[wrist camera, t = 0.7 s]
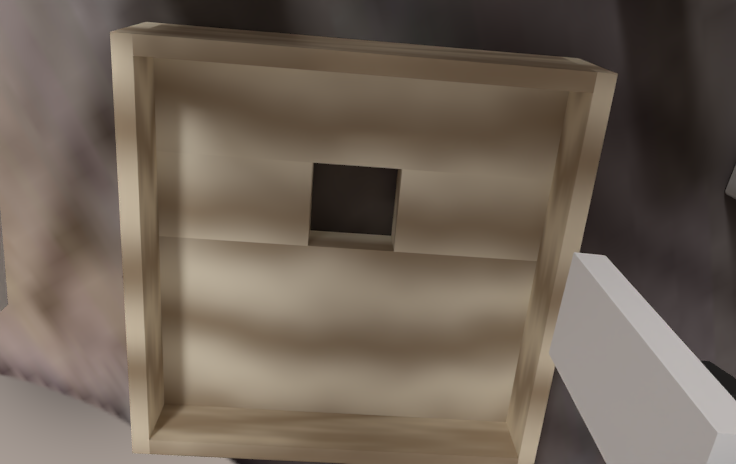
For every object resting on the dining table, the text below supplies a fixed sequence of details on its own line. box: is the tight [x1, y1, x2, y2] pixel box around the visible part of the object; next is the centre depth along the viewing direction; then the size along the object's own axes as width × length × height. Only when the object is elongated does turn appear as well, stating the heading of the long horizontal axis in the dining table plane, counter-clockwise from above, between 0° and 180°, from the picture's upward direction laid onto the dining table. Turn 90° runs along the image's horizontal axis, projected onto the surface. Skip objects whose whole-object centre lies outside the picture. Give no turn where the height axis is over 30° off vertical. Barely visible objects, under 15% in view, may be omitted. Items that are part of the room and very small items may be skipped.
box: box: [110, 22, 618, 464], centre depth 39 cm, size 24×24×6 cm
